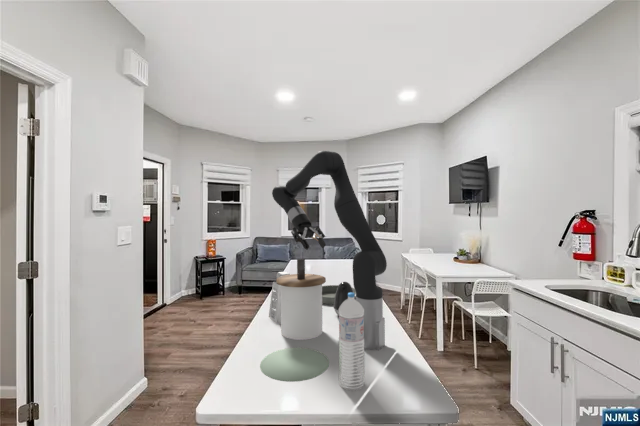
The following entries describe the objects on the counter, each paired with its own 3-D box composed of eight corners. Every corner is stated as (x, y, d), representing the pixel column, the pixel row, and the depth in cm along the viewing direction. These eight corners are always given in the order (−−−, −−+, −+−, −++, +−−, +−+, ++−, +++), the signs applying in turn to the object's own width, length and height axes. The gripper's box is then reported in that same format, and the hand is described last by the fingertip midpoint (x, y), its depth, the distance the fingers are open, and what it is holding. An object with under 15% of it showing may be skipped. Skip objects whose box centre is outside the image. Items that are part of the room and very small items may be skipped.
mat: (340, 358, 100) (340, 356, 100) (304, 391, 82) (304, 389, 82) (287, 344, 110) (287, 342, 110) (245, 371, 92) (245, 369, 92)
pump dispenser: (331, 318, 137) (331, 283, 137) (335, 311, 147) (335, 278, 147) (354, 320, 134) (354, 285, 134) (357, 312, 144) (357, 279, 144)
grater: (277, 324, 131) (276, 276, 130) (268, 316, 140) (268, 272, 140) (299, 319, 136) (299, 273, 135) (290, 312, 145) (290, 269, 145)
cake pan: (305, 295, 176) (305, 287, 176) (346, 291, 184) (346, 283, 184) (319, 308, 153) (319, 298, 153) (365, 302, 160) (364, 294, 160)
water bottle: (348, 376, 89) (347, 288, 89) (369, 384, 85) (368, 292, 85) (333, 386, 84) (333, 293, 84) (355, 396, 79) (354, 298, 79)
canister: (326, 327, 127) (326, 278, 126) (315, 343, 111) (315, 287, 111) (289, 323, 131) (289, 276, 131) (274, 338, 116) (273, 284, 115)
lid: (334, 279, 124) (334, 257, 124) (308, 289, 108) (308, 265, 108) (294, 274, 134) (294, 254, 134) (266, 283, 118) (265, 261, 118)
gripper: (288, 213, 129) (306, 242, 121) (315, 212, 139) (333, 240, 130) (281, 225, 133) (298, 255, 125) (308, 224, 143) (325, 251, 134)
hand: (316, 247), depth 127 cm, fingers open, 8 cm apart
